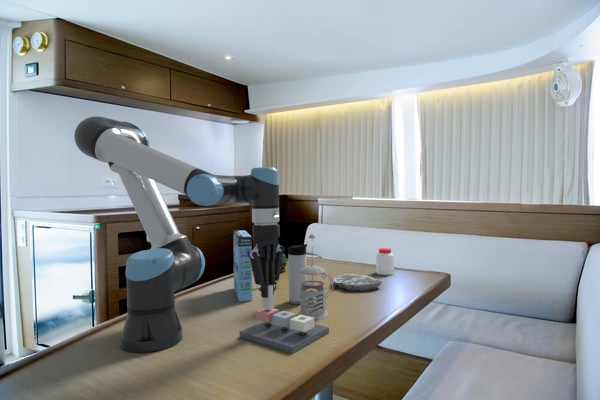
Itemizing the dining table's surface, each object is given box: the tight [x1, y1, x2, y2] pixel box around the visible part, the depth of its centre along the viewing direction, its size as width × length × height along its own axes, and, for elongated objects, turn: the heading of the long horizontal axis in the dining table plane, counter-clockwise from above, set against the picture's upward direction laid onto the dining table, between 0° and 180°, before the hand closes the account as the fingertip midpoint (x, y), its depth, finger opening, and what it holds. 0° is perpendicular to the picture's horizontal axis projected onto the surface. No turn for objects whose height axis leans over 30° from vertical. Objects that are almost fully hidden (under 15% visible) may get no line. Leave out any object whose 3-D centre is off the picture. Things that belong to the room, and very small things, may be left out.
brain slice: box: [332, 273, 382, 292], centre depth 155 cm, size 20×17×3 cm
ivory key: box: [290, 315, 315, 335], centre depth 102 cm, size 4×4×4 cm
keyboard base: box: [239, 321, 330, 354], centre depth 105 cm, size 16×18×2 cm
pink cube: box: [255, 307, 280, 325], centre depth 109 cm, size 4×4×4 cm
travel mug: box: [287, 243, 308, 305], centre depth 135 cm, size 6×7×20 cm
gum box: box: [232, 230, 253, 303], centre depth 145 cm, size 20×5×23 cm, turn 14°
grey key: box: [273, 310, 297, 330], centre depth 105 cm, size 4×4×4 cm
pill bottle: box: [375, 247, 395, 276], centre depth 177 cm, size 8×8×11 cm
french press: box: [296, 234, 334, 320], centre depth 122 cm, size 10×12×25 cm
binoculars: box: [280, 251, 287, 274], centre depth 182 cm, size 9×11×10 cm
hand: (268, 308), depth 109 cm, fingers closed
